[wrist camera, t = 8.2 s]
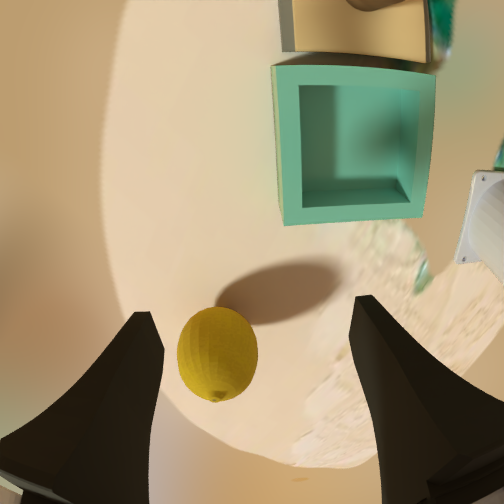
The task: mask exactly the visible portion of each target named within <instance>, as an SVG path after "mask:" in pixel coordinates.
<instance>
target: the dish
mask: <svg viewBox="0 0 504 504" xmlns="http://www.w3.org/2000/svg"><path fill="white" fill-rule="evenodd" d="M270 68H271V81H272V95H273V110H274V126H275V143H276V161H277V180H278V201H279V207H280V211H281V216H282V220H283V224H284V226H291V225H305V224H320V223H335V222H351V221H367V220H385V219H403V218H421V217H422V215H423V210H424V204H425V198H426V190H427V184H428V177H429V169H430V160H431V151H432V140H433V127H434V113H435V85H436V75H430V74H423V73H416V72H409V71H401V70H393V69H383V68H372V67H358V66H338V65H280V66H270Z"/></svg>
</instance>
